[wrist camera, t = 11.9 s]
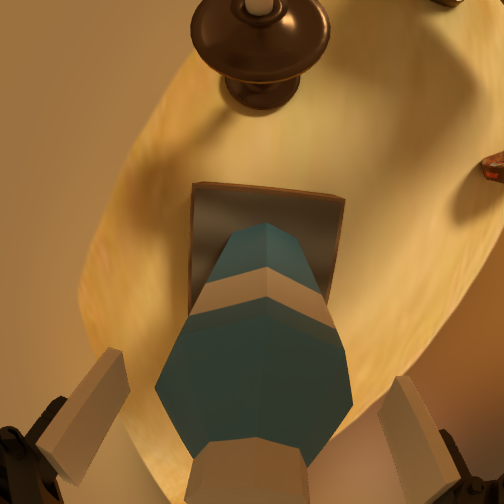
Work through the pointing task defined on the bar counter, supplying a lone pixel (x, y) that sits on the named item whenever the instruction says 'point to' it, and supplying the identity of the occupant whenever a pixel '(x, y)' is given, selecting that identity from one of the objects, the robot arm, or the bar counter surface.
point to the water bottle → (256, 375)
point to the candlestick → (260, 45)
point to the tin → (494, 167)
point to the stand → (257, 212)
